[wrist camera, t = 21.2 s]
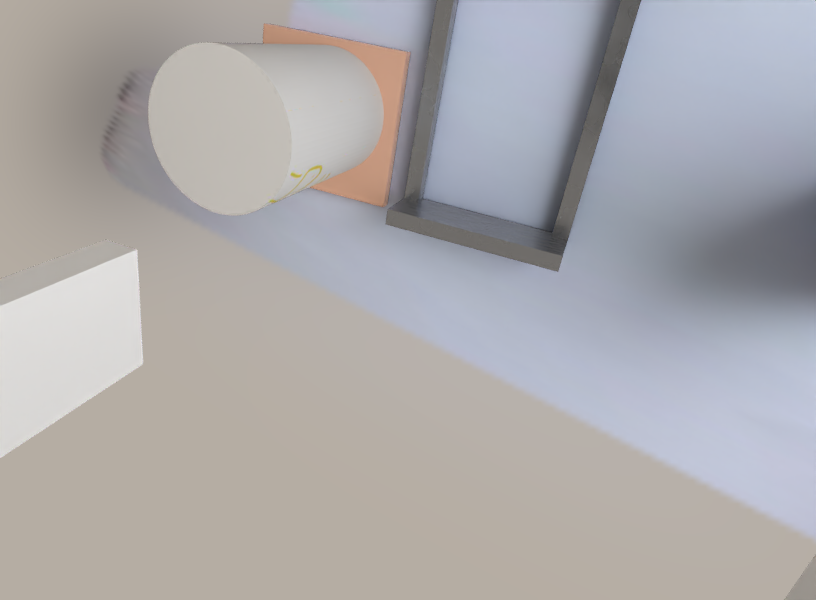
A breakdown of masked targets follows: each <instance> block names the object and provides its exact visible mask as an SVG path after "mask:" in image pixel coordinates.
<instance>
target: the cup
mask: <svg viewBox="0 0 816 600" xmlns="http://www.w3.org/2000/svg"><path fill="white" fill-rule="evenodd" d="M383 120H384V109H383V101H382V96H381V93H380V89H379V87H378V84H377V82H376V80H375V78H374V76H373V75H372V73H371V72H370V70H369V69H368V68H367V66H366V65H365V64H364V63H363V62H362V61H361V60H360V59H359V58H357V57H356V56H355V55H353V54H352V53H350V52H349V51H347V50H345V49H342V48H340V47H336V46H332V45H314V44H260V43H257V44H256V43H209V42H208V43H196V44H191V45H188V46H186V47H184V48H181V49H179V50H178V51H176V52H175V53H174V54H172V55H171V56H170V57H169V58H168V59H167V60H166V61H165V62H164V63H163V65H162V66H161V67H160V69H159V71H158V72H157V74H156V76H155V79H154V81H153V84H152V87H151V91H150V96H149V102H148V122H149V130H150V135H151V139H152V143H153V146H154V149H155V152H156V154H157V157H158V159H159V161H160V163H161V165H162V167H163V169H164V170H165V172H166V173H167V175H168V177H169V178H170V179H171V181H172V182H173V183H174V184H175V186H176V187H177V188H178V189H179V190H180V191H181V192H182V193H183V194H184V195H185V196H187V197H188V198H189V199H190V200H192V201H193V202H194V203H196V204H197V205H199V206H201V207H203V208H205V209H207V210H209V211H212V212H215V213H218V214H223V215H231V216H237V215H244V214H249V213H252V212H254V211H257V210H259V209H261V208H264V207H266V206H268V205H270V204H273V203H275V202H277V201H280V200H282V199H284V198H286V197H289V196H291V195H293V194H295V193H298V192H300V191H302V190H305V189H307V188H309V187H311V186H314V185H316V184H318V183H320V182H323V181H325V180H327V179H330V178H332V177H334V176H336V175H339V174H341V173H343V172H346V171H348V170H350V169H352V168H354V167H356V166H358V165H359V164H361V163H362V162H363V161H365V160H366V159H367V158H368V157H369V156H370V154H371V153H372V152H373V150H374V149H375V147H376V145H377V143H378V141H379V138H380V135H381V132H382V127H383Z"/></svg>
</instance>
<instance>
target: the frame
mask: <svg viewBox="0 0 816 600" xmlns="http://www.w3.org/2000/svg"><path fill="white" fill-rule="evenodd" d="M640 2H641V0H621V1H620V4H619V8H618V11H617V15H616V18H615V21H614V25H613V28H612V32H611V35H610V38H609V42H608V45H607V49H606V52H605V56H604V59H603V62H602V66H601V69H600V73H599V76H598V79H597V83H596V86H595V90H594V93H593V96H592V100H591V103H590V107H589V110H588V114H587V117H586V120H585V124H584V127H583V131H582V134H581V137H580V141H579V144H578V148H577V151H576V155H575V158H574V161H573V165H572V168H571V172H570V175H569V178H568V182H567V185H566V189H565V192H564V195H563V199H562V202H561V206H560V209H559V213H558V216H557V219H556V223H555V226H554V230H553V232H549V231H545V230H541V229H537V228H533V227H529V226H526V225H522V224H518V223H514V222H510V221H506V220H503V219H499V218H495V217H491V216H487V215H483V214H480V213H476V212H472V211H468V210H464V209H460V208H457V207H453V206H449V205H445V204H441V203H437V202H434V201H430V200H426V199H423V194H424V188H425V182H426V177H427V171H428V166H429V160H430V155H431V149H432V144H433V138H434V132H435V127H436V121H437V116H438V110H439V105H440V99H441V94H442V88H443V82H444V77H445V71H446V66H447V60H448V55H449V49H450V44H451V38H452V32H453V27H454V21H455V16H456V10H457V5H458V0H437V2H436V8H435V14H434V20H433V26H432V32H431V39H430V45H429V51H428V57H427V63H426V69H425V75H424V81H423V87H422V93H421V99H420V105H419V111H418V117H417V123H416V129H415V136H414V142H413V148H412V154H411V160H410V166H409V172H408V178H407V184H406V190H405V196H404V198H403V199H402V200H400V201H399V202H398V203H396V204H395V205H393V206H392V207H390V208H389V209H388V211H387V218H386V224H387V225H390V226H394V227H398V228H401V229H405V230H409V231H412V232H416V233H419V234H423V235H427V236H430V237H434V238H438V239H441V240H445V241H448V242H452V243H456V244H459V245H463V246H467V247H470V248H474V249H477V250H481V251H485V252H488V253H492V254H496V255H499V256H503V257H507V258H510V259H514V260H517V261H521V262H525V263H528V264H532V265H536V266H539V267H543V268H546V269H550V270H554V271H557V272H558V270H559V267H560V263H561V260H562V257H563V253H564V250H565V247H566V243H567V240H568V236H569V233H570V230H571V227H572V223H573V220H574V217H575V214H576V210H577V207H578V204H579V201H580V197H581V194H582V191H583V188H584V184H585V181H586V178H587V175H588V171H589V168H590V165H591V162H592V158H593V155H594V152H595V149H596V145H597V142H598V139H599V136H600V132H601V129H602V126H603V122H604V119H605V116H606V113H607V109H608V106H609V103H610V100H611V96H612V93H613V90H614V87H615V83H616V80H617V77H618V74H619V70H620V67H621V64H622V61H623V57H624V54H625V51H626V48H627V44H628V41H629V38H630V35H631V31H632V28H633V25H634V22H635V18H636V15H637V12H638V9H639V5H640Z"/></svg>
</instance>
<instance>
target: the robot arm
mask: <svg viewBox="0 0 816 600" xmlns="http://www.w3.org/2000/svg"><path fill="white" fill-rule="evenodd" d="M141 333H142V332H141V314H140V294H139V275H138V257H137V249H134V248H131V247H128V246H125V245H122V244H119V243H116V242H113V241H109V240H103V241H100V242H98V243H95V244H92V245H89V246H87V247H84V248H81V249H79V250H76V251H74V252H71V253H68V254H65V255H63V256H60V257H57V258H54V259H52V260H49V261H46V262H44V263H41V264H38V265H36V266H33V267H30V268H27V269H25V270H22V271H19V272H16V273H14V274H11V275H9V276H6V277H3V278H0V458H1V457H3V456H4V455H5V454H7V453H9V452H10V451H12V450H13V449H15V448H16V447H18V446H19V445H21V444H22V443H24V442H25V441H27V440H28V439H30V438H32V437H33V436H35V435H36V434H37V433H39V432H40V431H42V430H44V429H45V428H47V427H48V426H50V425H51V424H53V423H54V422H56V421H57V420H59V419H60V418H62V417H63V416H65V415H66V414H68V413H69V412H71V411H72V410H74V409H76V408H77V407H79V406H80V405H82V404H83V403H84V402H86V401H88V400H89V399H91V398H92V397H94V396H95V395H97V394H98V393H100V392H101V391H103V390H104V389H106V388H107V387H109V386H110V385H112V384H114V383H115V382H117V381H118V380H120V379H121V378H123V377H124V376H126V375H127V374H129V373H130V372H132V371H133V370H135V369H136V368H138V367H139V366H141V365H142V364H143V351H142V334H141ZM784 600H816V555H815V556H814V558H813V559H812V561H811V562H810V563H809V565H808V566H807V568H806V569H805V571H804V572H803V574H802V575H801V576H800V578H799V579H798V581H797V582H796V584H795V585H794V587H793V588H792V589H791V591H790V592H789V594H788V595H787V596H786V598H785V599H784Z"/></svg>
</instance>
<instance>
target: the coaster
mask: <svg viewBox="0 0 816 600" xmlns="http://www.w3.org/2000/svg"><path fill="white" fill-rule="evenodd" d="M263 31H264V32H263V44H314V45H332V46H336V47H340V48H342V49H345V50H347V51H349V52H350V53H352V54H353V55H355V56H356V57H357V58H359V59H360V60H361V61H362V62H363V63H364V64H365V65H366V66H367V68H368V69H369V70H370V72H371V73H372V75H373V76H374V78H375V80H376V82H377V84H378V87H379V89H380V93H381V96H382V101H383V109H384V120H383V127H382V132H381V135H380V138H379V141H378V143H377V145H376V147H375V149H374V150H373V152H372V153H371V154H370V156H369V157H368V158H367V159H366V160H365V161H363V162H362V163H361V164H359V165H358V166H356V167H354V168H352V169H350V170H348V171H346V172H343V173H341V174H339V175H336V176H334V177H332V178H330V179H327V180H325V181H323V182H320V183H318V184H316V185H314V186H311V187H310V188H313V189H317V190H321V191H325V192H328V193H332V194H336V195H340V196H343V197H347V198H351V199H354V200H358V201H362V202H366V203H369V204H373V205H377V206H380V207H384V206H386V205H387V204H388V197H389V191H390V184H391V178H392V171H393V164H394V158H395V151H396V145H397V138H398V132H399V125H400V118H401V112H402V105H403V99H404V92H405V86H406V79H407V72H408V66H409V59H410V53H411V52H407V51H402V50H397V49H392V48H388V47H383V46H378V45H373V44H368V43H363V42H358V41H353V40H348V39H343V38H338V37H333V36H328V35H323V34H318V33H313V32H308V31H303V30H298V29H293V28H288V27H283V26H278V25H273V24H264V30H263Z"/></svg>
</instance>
